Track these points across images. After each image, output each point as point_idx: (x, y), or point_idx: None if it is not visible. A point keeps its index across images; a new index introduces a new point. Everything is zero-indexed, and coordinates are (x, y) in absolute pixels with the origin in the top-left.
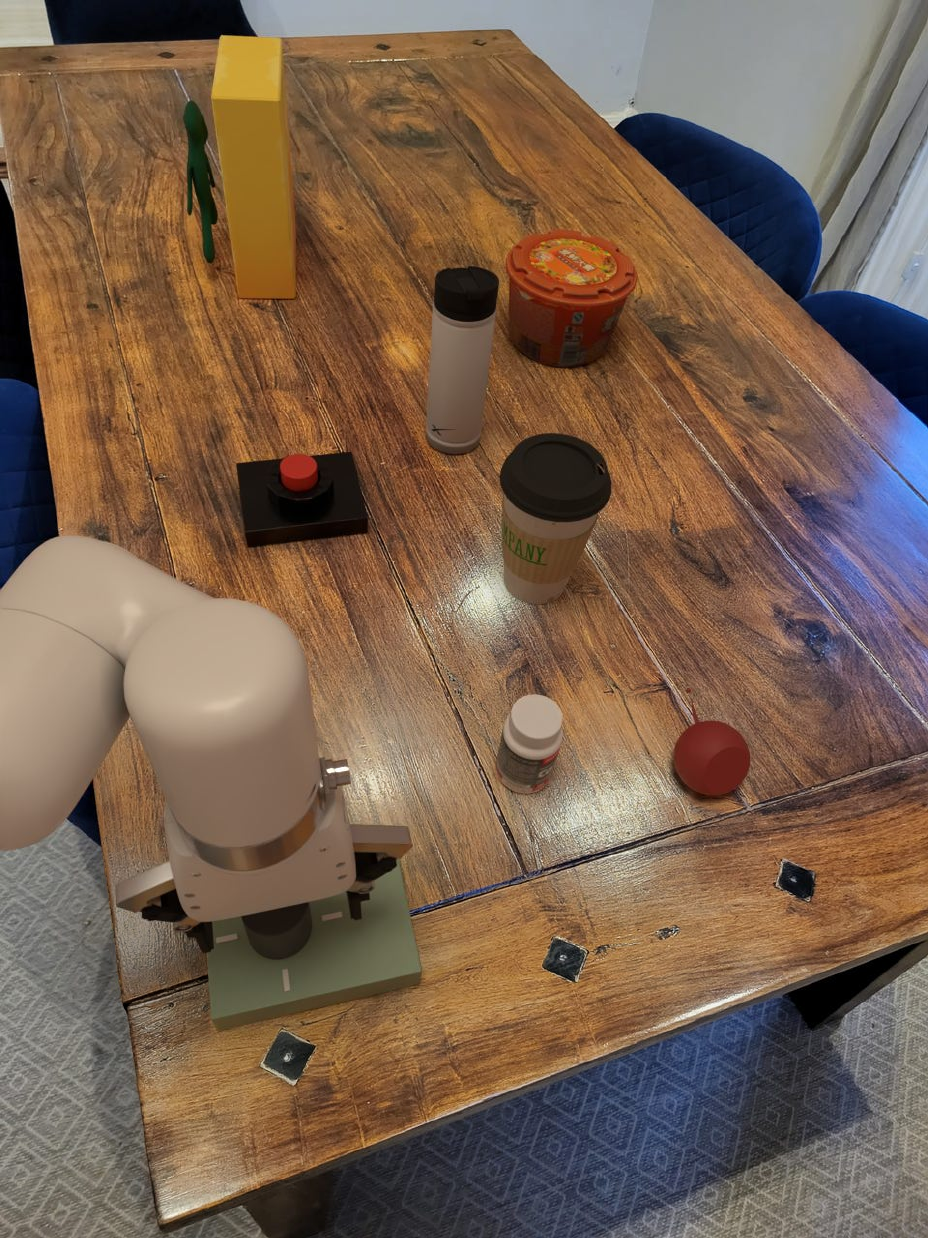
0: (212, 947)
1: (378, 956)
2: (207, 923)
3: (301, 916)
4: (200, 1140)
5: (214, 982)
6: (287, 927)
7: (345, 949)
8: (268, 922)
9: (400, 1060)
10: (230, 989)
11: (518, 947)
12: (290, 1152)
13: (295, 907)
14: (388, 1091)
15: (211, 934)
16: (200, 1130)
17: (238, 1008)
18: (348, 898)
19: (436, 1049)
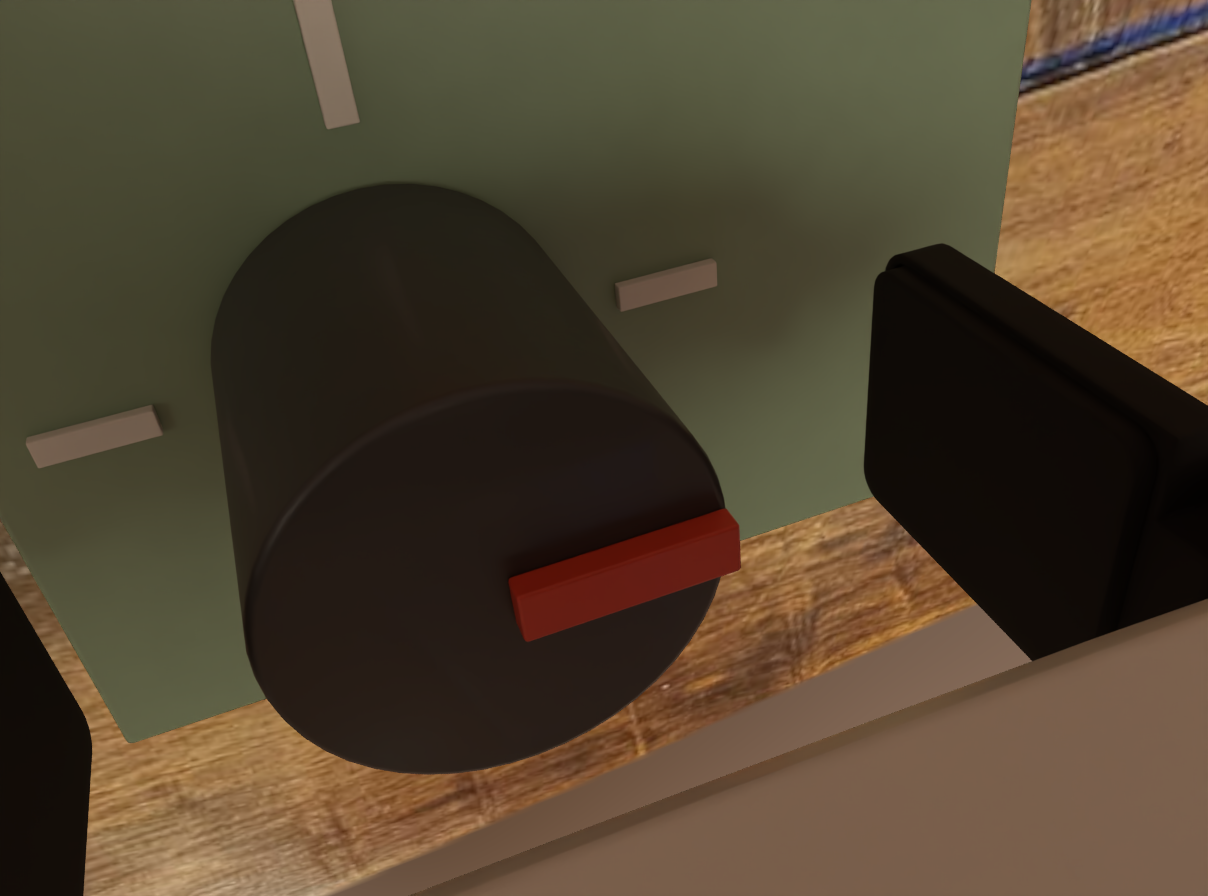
0: (88, 770)
1: (835, 435)
2: (34, 863)
3: (681, 644)
4: (164, 857)
5: (92, 621)
6: (596, 710)
7: (708, 418)
8: (477, 711)
9: (766, 586)
10: (188, 633)
11: (1195, 244)
12: (448, 817)
13: (649, 608)
14: (721, 656)
15: (57, 734)
16: (156, 840)
17: (247, 689)
18: (1004, 586)
19: (869, 546)
